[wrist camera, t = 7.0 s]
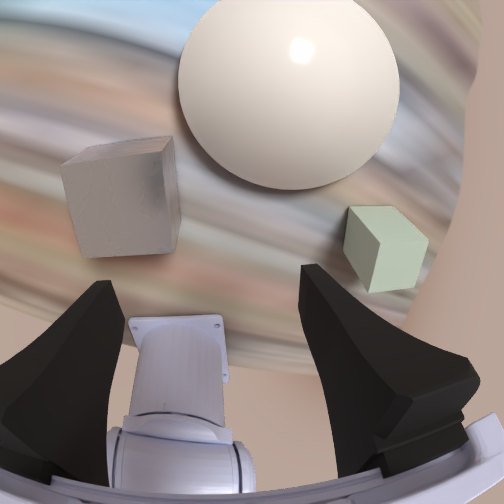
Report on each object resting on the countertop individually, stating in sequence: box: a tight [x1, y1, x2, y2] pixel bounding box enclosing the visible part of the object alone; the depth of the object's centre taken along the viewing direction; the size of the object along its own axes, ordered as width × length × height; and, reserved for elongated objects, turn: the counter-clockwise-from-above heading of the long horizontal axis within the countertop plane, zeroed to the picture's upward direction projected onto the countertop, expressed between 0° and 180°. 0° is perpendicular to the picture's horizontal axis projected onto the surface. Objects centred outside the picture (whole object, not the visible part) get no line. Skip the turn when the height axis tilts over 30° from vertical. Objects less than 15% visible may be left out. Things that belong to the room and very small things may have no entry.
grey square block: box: [60, 136, 181, 258], centre depth 16 cm, size 6×6×4 cm
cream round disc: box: [178, 0, 399, 190], centre depth 15 cm, size 13×13×1 cm
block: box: [343, 206, 429, 293], centre depth 20 cm, size 4×4×5 cm
